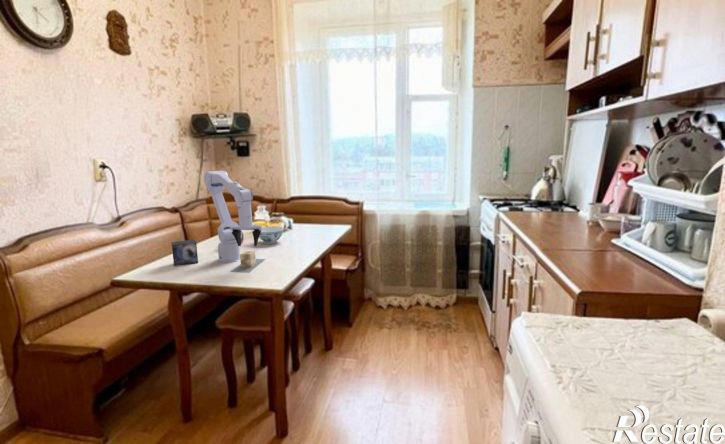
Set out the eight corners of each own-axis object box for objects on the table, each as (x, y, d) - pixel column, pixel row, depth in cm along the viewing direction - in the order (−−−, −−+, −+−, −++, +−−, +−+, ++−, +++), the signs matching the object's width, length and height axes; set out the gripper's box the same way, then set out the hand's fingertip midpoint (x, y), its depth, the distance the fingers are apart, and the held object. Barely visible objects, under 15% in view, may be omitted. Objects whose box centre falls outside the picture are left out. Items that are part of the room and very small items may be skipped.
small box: (174, 266, 185) (171, 244, 183) (173, 263, 190) (171, 241, 188) (198, 263, 190) (196, 241, 187) (197, 259, 195) (195, 239, 193)
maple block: (241, 266, 182) (240, 254, 181) (245, 263, 187) (244, 251, 185) (251, 267, 181) (250, 254, 180) (255, 263, 186) (254, 251, 185)
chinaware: (289, 241, 229) (288, 227, 227) (270, 247, 216) (269, 233, 215) (270, 238, 237) (269, 225, 235) (251, 243, 224) (250, 230, 223)
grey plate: (229, 272, 175) (229, 272, 175) (248, 259, 194) (248, 258, 194) (249, 273, 174) (249, 272, 174) (265, 259, 193) (265, 259, 193)
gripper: (225, 218, 176) (228, 247, 179) (257, 217, 175) (260, 247, 177) (232, 215, 183) (235, 244, 186) (263, 214, 182) (265, 243, 184)
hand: (247, 245), depth 182 cm, fingers open, 7 cm apart
